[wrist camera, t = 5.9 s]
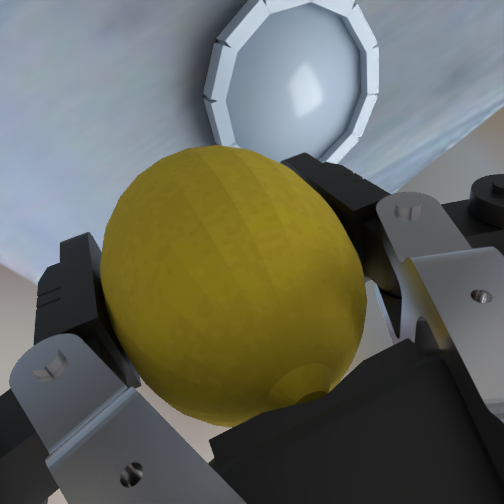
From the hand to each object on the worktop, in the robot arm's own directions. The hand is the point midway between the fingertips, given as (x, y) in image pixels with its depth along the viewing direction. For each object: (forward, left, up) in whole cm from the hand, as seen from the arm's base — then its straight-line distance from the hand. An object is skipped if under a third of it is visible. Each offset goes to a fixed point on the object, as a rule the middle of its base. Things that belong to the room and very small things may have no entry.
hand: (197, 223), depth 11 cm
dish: (+3, +12, -18) cm, 21 cm away
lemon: (0, 0, -2) cm, 2 cm away
